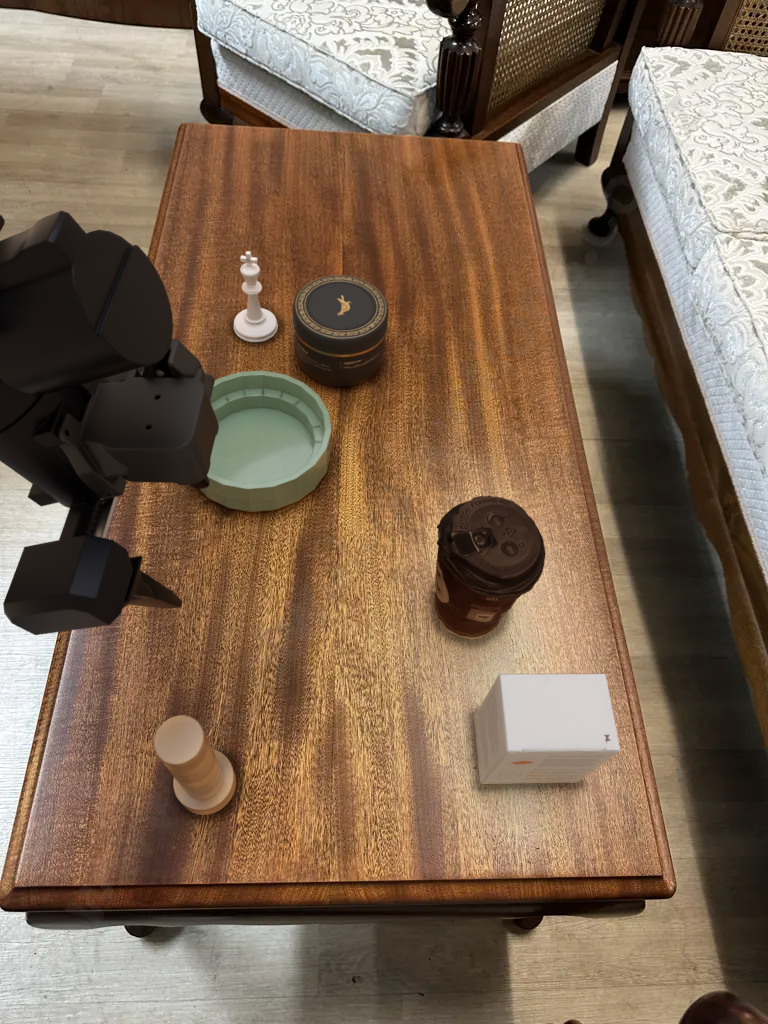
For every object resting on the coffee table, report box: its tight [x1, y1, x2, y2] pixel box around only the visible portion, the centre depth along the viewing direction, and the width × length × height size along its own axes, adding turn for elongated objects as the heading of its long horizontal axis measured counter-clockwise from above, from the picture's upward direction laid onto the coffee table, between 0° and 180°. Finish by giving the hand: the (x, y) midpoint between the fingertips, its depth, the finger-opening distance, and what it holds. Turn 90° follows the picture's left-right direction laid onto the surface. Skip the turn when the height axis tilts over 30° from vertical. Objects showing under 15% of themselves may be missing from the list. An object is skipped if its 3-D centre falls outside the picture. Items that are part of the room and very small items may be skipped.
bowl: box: [199, 370, 332, 513], centre depth 70 cm, size 14×14×4 cm
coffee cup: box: [433, 495, 547, 640], centre depth 59 cm, size 9×8×13 cm
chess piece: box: [233, 250, 279, 343], centre depth 77 cm, size 5×5×10 cm
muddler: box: [153, 714, 237, 816], centre depth 50 cm, size 4×4×13 cm
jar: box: [291, 274, 389, 388], centre depth 77 cm, size 10×10×8 cm
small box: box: [473, 672, 621, 785], centre depth 54 cm, size 8×6×10 cm
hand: (191, 542), depth 48 cm, fingers open, 9 cm apart
